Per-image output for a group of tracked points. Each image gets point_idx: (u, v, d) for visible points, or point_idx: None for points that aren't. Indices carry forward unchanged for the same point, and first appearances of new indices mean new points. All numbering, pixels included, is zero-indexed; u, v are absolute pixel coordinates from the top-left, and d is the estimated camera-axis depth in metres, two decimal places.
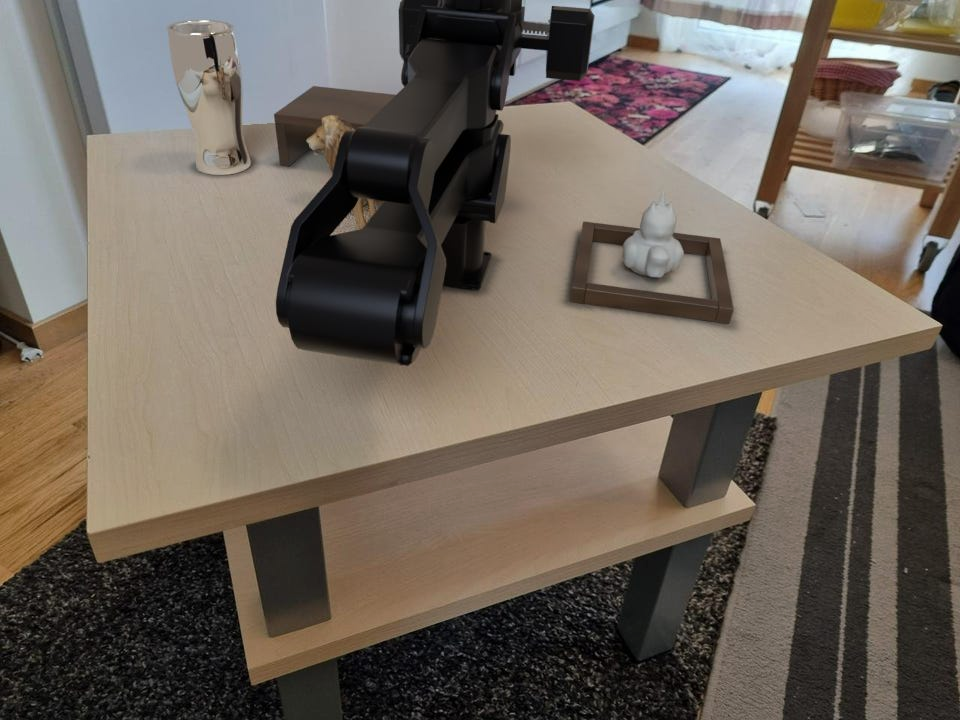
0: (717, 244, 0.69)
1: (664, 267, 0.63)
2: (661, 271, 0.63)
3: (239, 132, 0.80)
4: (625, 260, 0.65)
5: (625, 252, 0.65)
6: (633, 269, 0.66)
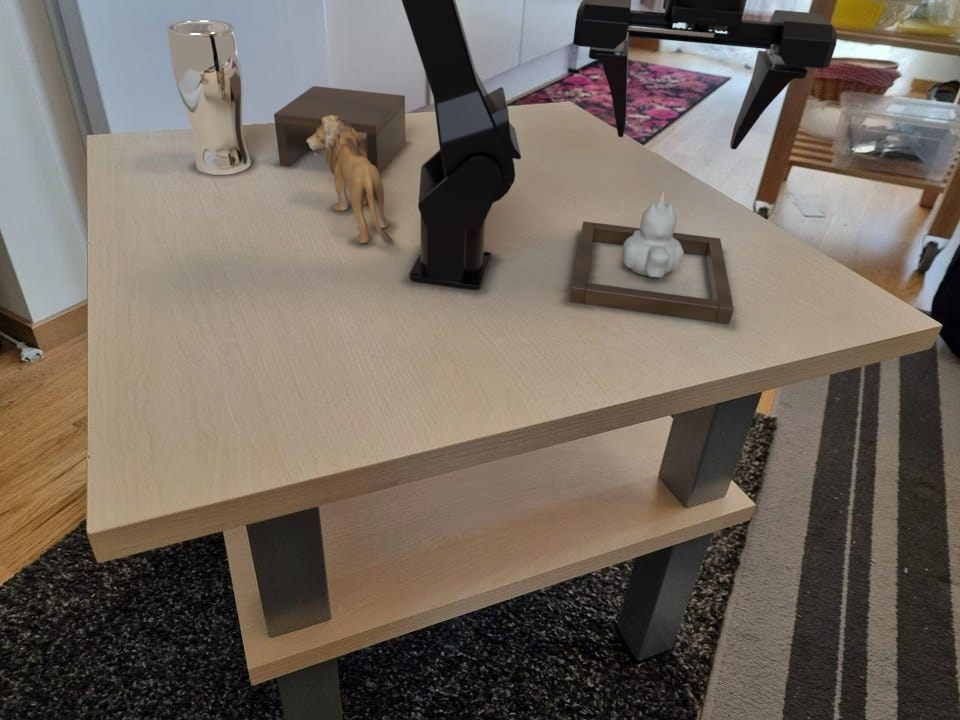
0: (717, 244, 0.69)
1: (664, 267, 0.63)
2: (661, 271, 0.63)
3: (239, 132, 0.80)
4: (625, 260, 0.65)
5: (625, 252, 0.65)
6: (633, 269, 0.66)
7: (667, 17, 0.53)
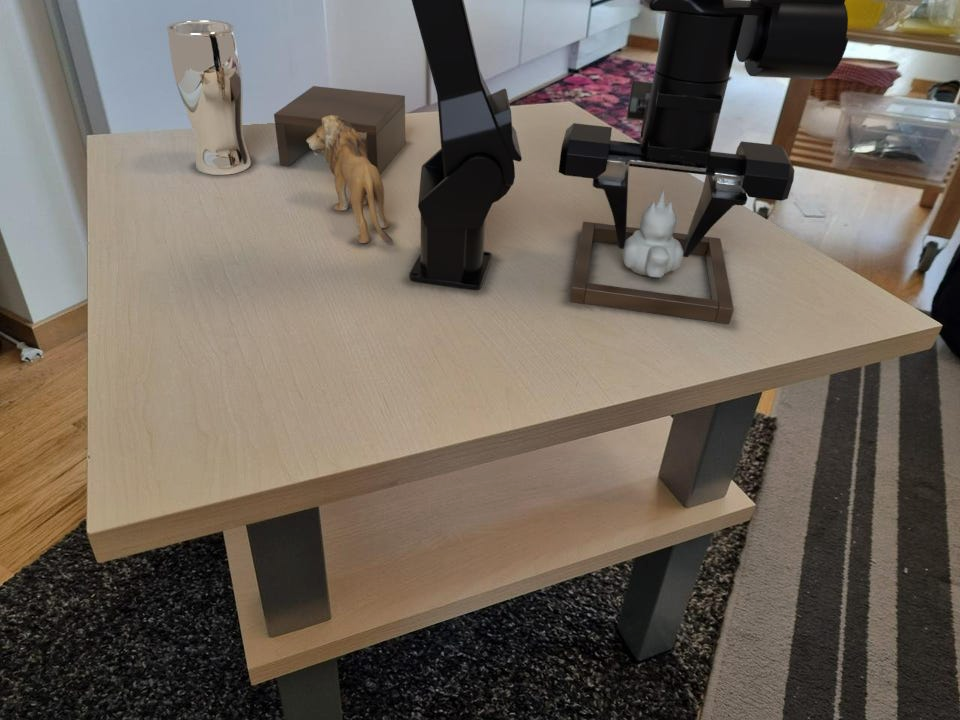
0: (717, 244, 0.69)
1: (664, 267, 0.63)
2: (661, 271, 0.63)
3: (239, 132, 0.80)
4: (625, 260, 0.65)
5: (625, 252, 0.65)
6: (633, 269, 0.66)
7: (643, 150, 0.59)
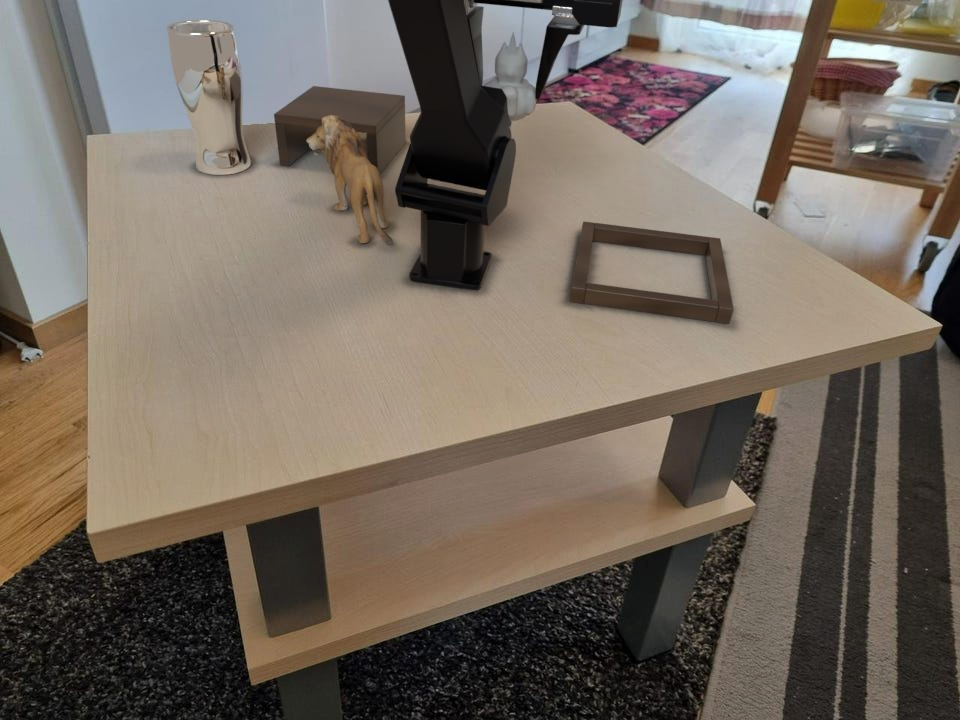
0: (717, 244, 0.69)
1: (513, 105, 0.66)
2: (510, 109, 0.66)
3: (239, 132, 0.80)
4: None
5: None
6: None
7: None
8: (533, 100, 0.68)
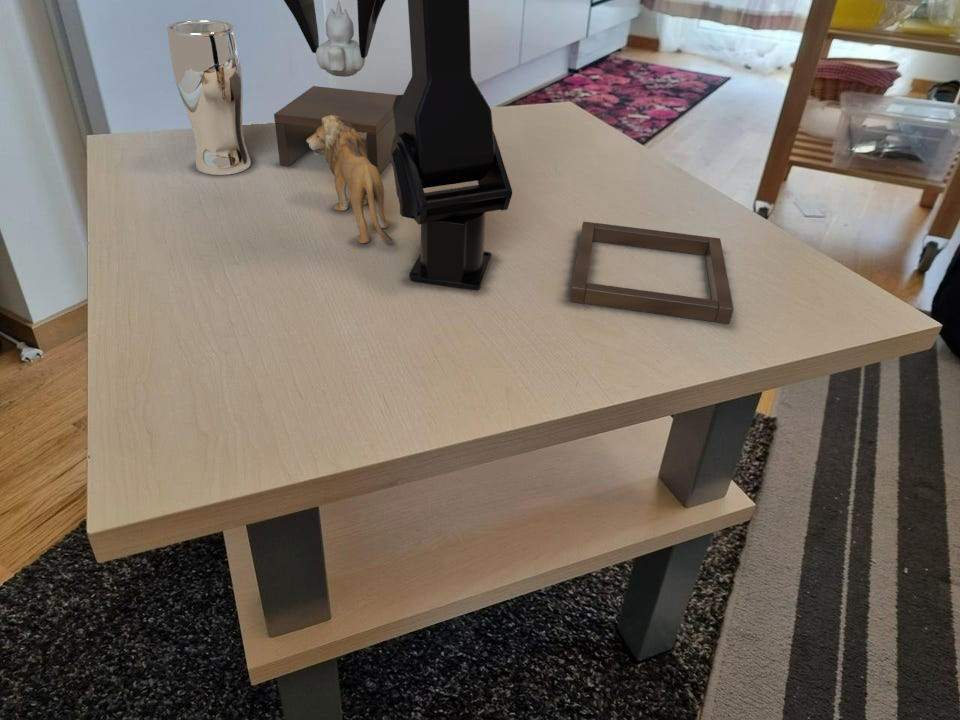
0: (717, 244, 0.69)
1: (340, 61, 0.79)
2: (338, 64, 0.79)
3: (239, 132, 0.80)
4: (317, 61, 0.81)
5: (316, 54, 0.81)
6: (326, 70, 0.82)
7: None
8: (360, 58, 0.80)
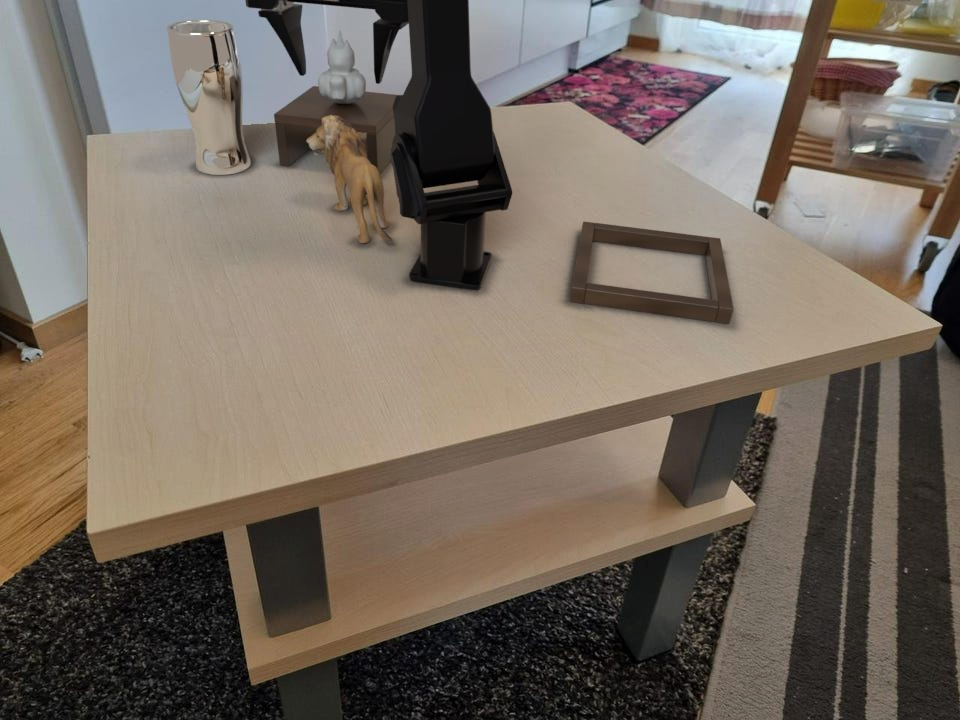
0: (717, 244, 0.69)
1: (342, 90, 0.81)
2: (340, 93, 0.81)
3: (239, 132, 0.80)
4: (319, 89, 0.83)
5: (318, 82, 0.82)
6: (327, 97, 0.83)
7: None
8: (360, 86, 0.82)
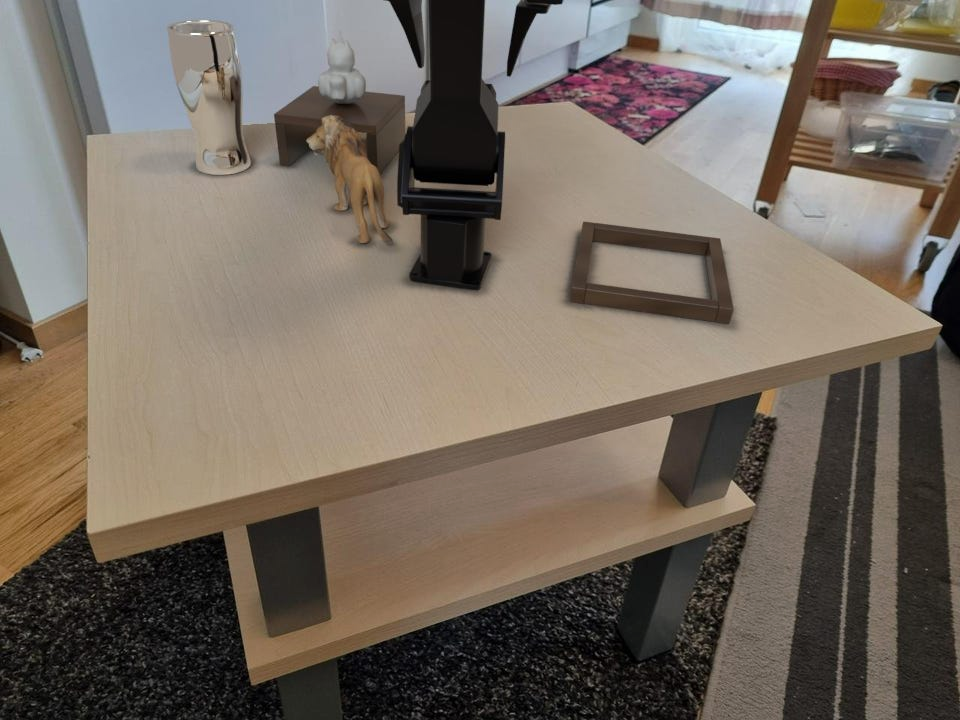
0: (717, 244, 0.69)
1: (342, 90, 0.81)
2: (340, 93, 0.81)
3: (239, 132, 0.80)
4: (319, 89, 0.83)
5: (318, 82, 0.82)
6: (327, 97, 0.83)
7: None
8: (360, 86, 0.82)
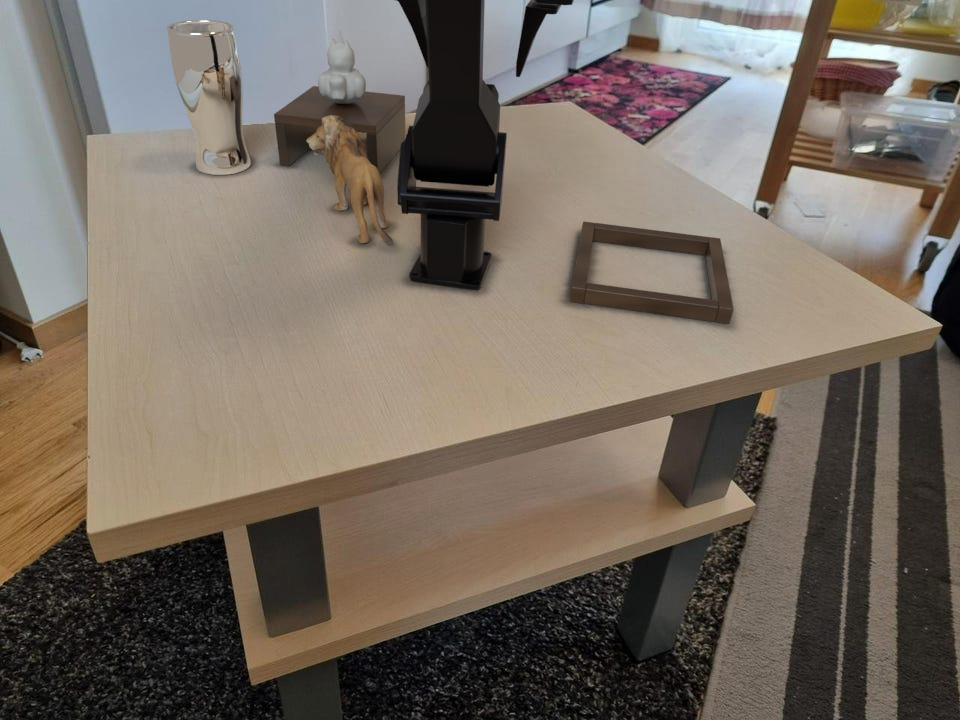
0: (717, 244, 0.69)
1: (342, 90, 0.81)
2: (340, 93, 0.81)
3: (239, 132, 0.80)
4: (319, 89, 0.83)
5: (318, 82, 0.82)
6: (327, 97, 0.83)
7: None
8: (360, 86, 0.82)
